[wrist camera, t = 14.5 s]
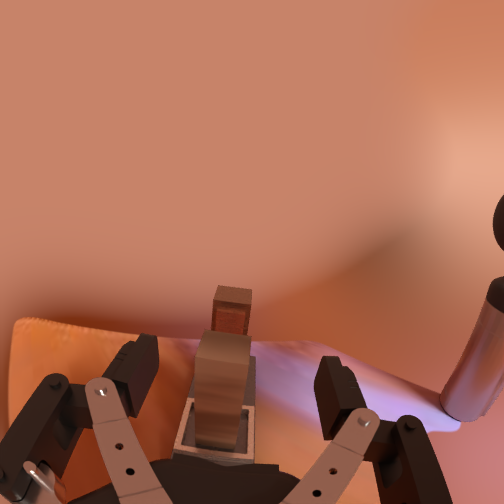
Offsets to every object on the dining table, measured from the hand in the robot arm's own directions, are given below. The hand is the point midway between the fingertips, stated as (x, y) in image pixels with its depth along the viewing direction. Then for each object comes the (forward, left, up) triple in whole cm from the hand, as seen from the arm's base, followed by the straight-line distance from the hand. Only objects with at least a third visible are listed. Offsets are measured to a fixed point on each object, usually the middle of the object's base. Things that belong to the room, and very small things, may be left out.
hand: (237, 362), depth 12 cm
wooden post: (+4, -7, -17) cm, 18 cm away
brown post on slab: (+5, -12, -18) cm, 22 cm away
